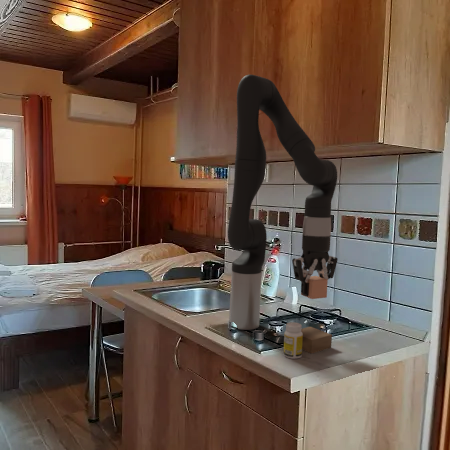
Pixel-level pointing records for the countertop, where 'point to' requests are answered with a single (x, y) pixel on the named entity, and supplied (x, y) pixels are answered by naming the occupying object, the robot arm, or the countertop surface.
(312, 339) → the walnut block
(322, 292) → the terracotta cube
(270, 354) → the countertop surface
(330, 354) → the countertop surface
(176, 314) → the countertop surface
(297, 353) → the supplement bottle
